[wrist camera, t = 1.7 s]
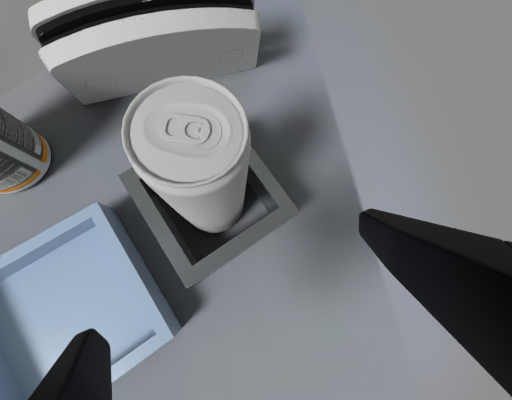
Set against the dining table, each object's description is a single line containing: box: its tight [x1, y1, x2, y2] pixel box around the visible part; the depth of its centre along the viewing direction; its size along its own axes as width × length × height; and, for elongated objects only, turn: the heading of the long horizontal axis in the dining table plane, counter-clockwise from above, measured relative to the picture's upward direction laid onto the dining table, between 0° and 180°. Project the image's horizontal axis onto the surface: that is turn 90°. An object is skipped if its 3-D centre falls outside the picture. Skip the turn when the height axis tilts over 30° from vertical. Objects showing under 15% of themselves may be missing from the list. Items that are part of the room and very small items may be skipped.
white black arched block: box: [28, 0, 261, 105], centre depth 20 cm, size 17×5×10 cm, turn 109°
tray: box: [0, 202, 182, 400], centre depth 17 cm, size 11×11×2 cm
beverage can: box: [121, 76, 251, 233], centre depth 15 cm, size 5×5×12 cm
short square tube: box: [118, 146, 299, 289], centre depth 19 cm, size 9×9×4 cm
